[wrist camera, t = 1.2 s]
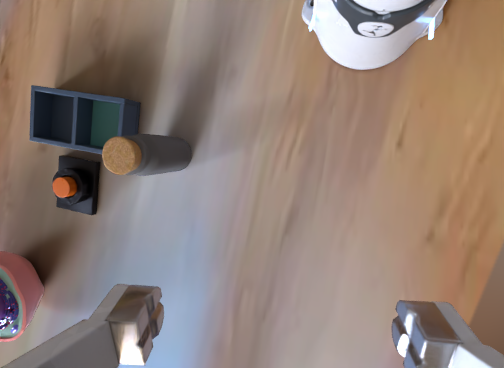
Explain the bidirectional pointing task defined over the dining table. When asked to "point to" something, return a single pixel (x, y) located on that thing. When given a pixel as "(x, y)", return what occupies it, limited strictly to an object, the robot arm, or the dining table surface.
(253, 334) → the dining table surface
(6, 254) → the cell model
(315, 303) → the dining table surface
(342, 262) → the dining table surface
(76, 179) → the control block
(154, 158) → the bottle
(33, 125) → the tray
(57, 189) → the button
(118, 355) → the robot arm
